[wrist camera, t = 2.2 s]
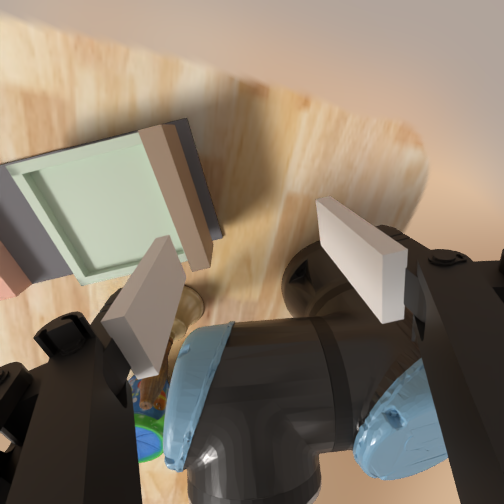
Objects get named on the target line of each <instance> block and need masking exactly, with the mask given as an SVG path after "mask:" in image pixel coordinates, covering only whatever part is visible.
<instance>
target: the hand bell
mask: <svg viewBox="0 0 504 504" xmlns="http://www.w3.org/2000/svg"><path fill="white" fill-rule="evenodd" d="M203 310H204V304H203V301H202V299H201V297H200V296H199V294H198V293H197V292H196V291H194V290H193V289H191V288H189V287H186V286H184V287H183V291H182V294H181V298H180V301H179V305H178V308H177V312H176V315H175V319H174V322H173V326H172V329H171V333H170V336H169V340H168V343H167V347H166V350H165V354H164V358H163V361H162V365H161V368H160V372H159V375H156V376H152V377H147V378H143V379H142V380H141V385H140V404H139V406H140V408H142V409H144V410H148V409H150V408H152V406H153V404H154V402H155V400H156V399H157V397H158V396H159V395H160V393H161V391H162V390H163V388H164V385H165V382H166V379H167V374H168V355H169V352H170V349H171V346H172V344H173V342H175V341H178V340H180V339H182V338H183V337H184V336H185V334H186V332H187V329H188V327H189V326H190V325H192V324H194V323H195V322H197V321H198V320H199V319H200V317H201V316H202V314H203Z"/></svg>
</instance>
